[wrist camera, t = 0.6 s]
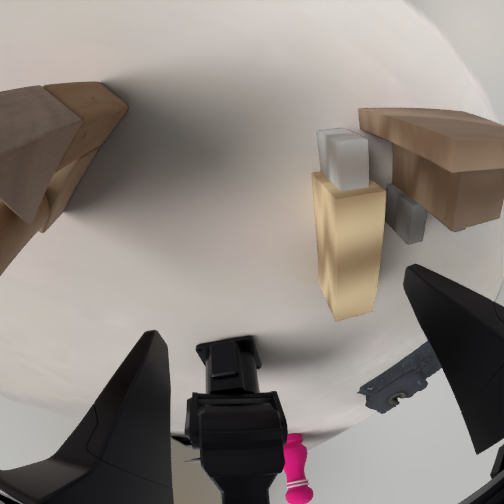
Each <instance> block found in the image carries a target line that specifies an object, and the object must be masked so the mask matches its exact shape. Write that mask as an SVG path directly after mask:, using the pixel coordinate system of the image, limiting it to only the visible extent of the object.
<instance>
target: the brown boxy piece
mask: <svg viewBox="0 0 504 504" xmlns="http://www.w3.org/2000/svg"><path fill="white" fill-rule="evenodd" d="M358 110H359V121H360V129H361V130H364V131H367V132H369V133H372V134H374V135H376V136H379V137H381V138H383V139H386V140H388V141H390V142H393V181H392V184H390V185H387V191H386V211H385V222H386V223H387V224H388V225H389V226H390V227H391V228H392V229H393V230H394V231H395V232H396V233H397V234H398V235H399V236H400V237H401V238H402V239H403V240H404V241H405V242H406V243H407V244H408V245H409V244H413V243H417V242H420V241H423V236H424V230H425V224H426V218H427V211H428V212H429V213H431V214H432V215H433V216H434V217H435V218H437V219H438V220H439V221H440V222H441V223H442V224H444V225H445V226H446V227H447V228H448V229H449V230H451V231H454V232H457V231H461V230H464V229H466V227H470V226H474V225H477V224H481V223H484V222H488V221H491V220H494V219H498V218H500V213H501V209H502V205H503V200H504V126H503V125H501V124H498V123H495V122H493V121H490V120H487V119H484V118H482V117H479V116H476V115H473V114H469V113H466V112H462V111H452V110H440V109H423V108H363V109H358Z"/></svg>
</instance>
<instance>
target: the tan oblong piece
mask: <svg viewBox="0 0 504 504" xmlns="http://www.w3.org/2000/svg"><path fill="white" fill-rule="evenodd" d="M317 138H318V147H319V157H320V167H321V172H315V173H312V183H313V194H314V205H315V218H316V233H317V250H318V271H319V285H320V287H321V289H322V292H323V294H324V296H325V298H326V301H327V303H328V305H329V308H330V310H331V312H332V315H333V317H334V320H335V322H336V321H340V320H344V319H347V318H351V317H354V316H358V315H361V314H365V313H368V312H371V311H373V307H374V302H375V296H376V290H377V283H378V276H379V269H380V261H381V253H382V244H383V233H384V221H385V205H386V190H384V189H383V188H382V187H380V186H379V185H378V184H376V183H375V182H374V181H372V180H371V179H370V178H369V155H368V139H367V138H364V137H362V136H360V135H358V134H355V133H353V132H351V131H348V130H346V129H343V128H336V129H327V130H318V131H317Z"/></svg>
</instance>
